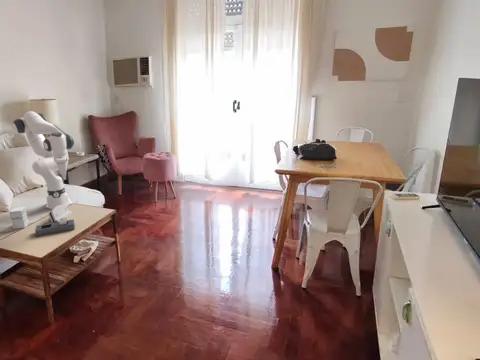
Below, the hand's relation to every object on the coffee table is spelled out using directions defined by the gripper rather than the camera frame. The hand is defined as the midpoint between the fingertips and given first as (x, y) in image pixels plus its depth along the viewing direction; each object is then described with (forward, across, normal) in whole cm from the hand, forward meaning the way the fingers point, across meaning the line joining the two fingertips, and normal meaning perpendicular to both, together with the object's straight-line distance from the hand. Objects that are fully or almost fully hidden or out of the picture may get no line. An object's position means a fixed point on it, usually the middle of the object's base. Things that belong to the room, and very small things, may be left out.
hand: (64, 177), depth 230 cm
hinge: (+32, -8, -8) cm, 34 cm away
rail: (+31, +14, -10) cm, 36 cm away
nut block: (+31, +14, -5) cm, 35 cm away
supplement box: (+31, -5, -32) cm, 45 cm away
